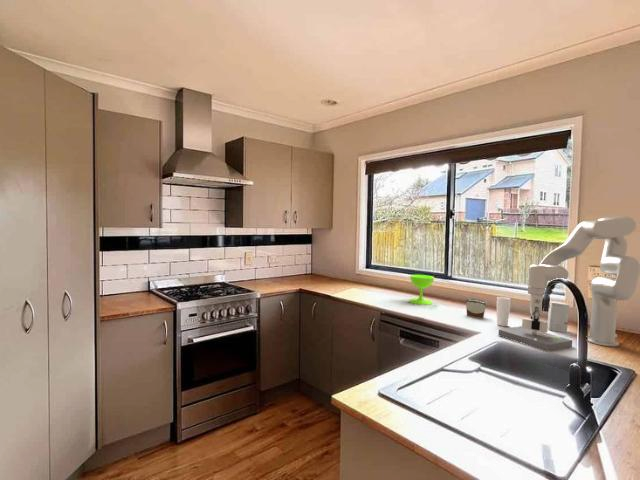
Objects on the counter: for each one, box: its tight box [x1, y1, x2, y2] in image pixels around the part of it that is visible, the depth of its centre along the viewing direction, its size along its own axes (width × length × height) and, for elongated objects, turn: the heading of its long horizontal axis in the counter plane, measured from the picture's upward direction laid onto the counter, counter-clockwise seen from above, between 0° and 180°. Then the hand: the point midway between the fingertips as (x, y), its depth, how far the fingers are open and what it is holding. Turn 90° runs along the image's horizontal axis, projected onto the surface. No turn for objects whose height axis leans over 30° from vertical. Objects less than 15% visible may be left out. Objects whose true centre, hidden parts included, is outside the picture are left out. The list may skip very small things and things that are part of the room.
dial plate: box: [497, 325, 573, 352], centre depth 170 cm, size 18×24×3 cm
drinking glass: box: [496, 296, 512, 327], centre depth 197 cm, size 7×7×15 cm
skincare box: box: [547, 300, 570, 333], centre depth 191 cm, size 8×6×15 cm
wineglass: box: [408, 274, 435, 306], centre depth 250 cm, size 16×16×18 cm
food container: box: [464, 297, 488, 319], centre depth 215 cm, size 12×6×10 cm, turn 47°
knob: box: [521, 317, 561, 339], centre depth 168 cm, size 15×3×6 cm, turn 51°
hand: (534, 327), depth 170 cm, fingers open, 9 cm apart
